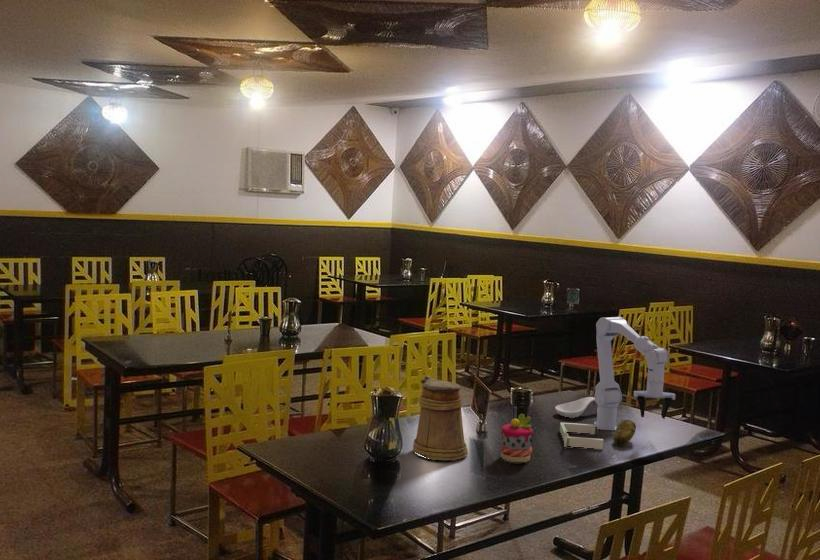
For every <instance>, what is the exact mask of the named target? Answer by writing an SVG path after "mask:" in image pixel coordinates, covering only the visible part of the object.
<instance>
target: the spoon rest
mask: <svg viewBox="0 0 820 560" xmlns="http://www.w3.org/2000/svg"><path fill="white" fill-rule="evenodd" d="M593 402H595V398H594V397H593V396H586V397H583V398H579V399H577V400H574V401H573V400H572V401H570V402H565V403H561V404H557V405H556V406H555V411H556V412H557V413H558V415H560V416H562V417H563V416H564V418H566V417H569V418H568V419H576V418H575V417H577V418H579V417H580V416H581V415H582V414H583V413H584V412H585V410H586V409H587V408H588V406H589V405H590V403H593Z"/></svg>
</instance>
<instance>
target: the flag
mask: <svg viewBox="0 0 820 560" xmlns="http://www.w3.org/2000/svg"><path fill="white" fill-rule="evenodd" d="M566 444H567V430H565V440H564V442H563V448H564V447H566ZM566 448H567V447H566Z"/></svg>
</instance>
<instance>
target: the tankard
mask: <svg viewBox="0 0 820 560" xmlns="http://www.w3.org/2000/svg"><path fill="white" fill-rule="evenodd" d="M420 383H421V384H422V387H421V395H420V398H419V402H418V406H419V407H420V411H419V419H418V425H417V429H416V430H417V431H416V438H415V439H414V440H413V444H412V451H413V450H414V451H415V452H416V453H418V454H420V455H422V456H424V457H426V458H429V459H433V460H432V461H435V460H452V461H457V459H459V460H461V458H462V459H464V458H466V457H467V456H468V454H469V451H468V447H467V443H466V442H465V435H464V434H465V433H464V425H463V416H462V415H463V414H462V413H463V412H462V406H463V399H462V398H463V397H462V395H460V390H461V385H460V384H459V383H456V382H452V381H446V380H440V379H436V378H433V377H432V376H431V375H430V374H426V375H424V378H422V379H421V380H420Z"/></svg>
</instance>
